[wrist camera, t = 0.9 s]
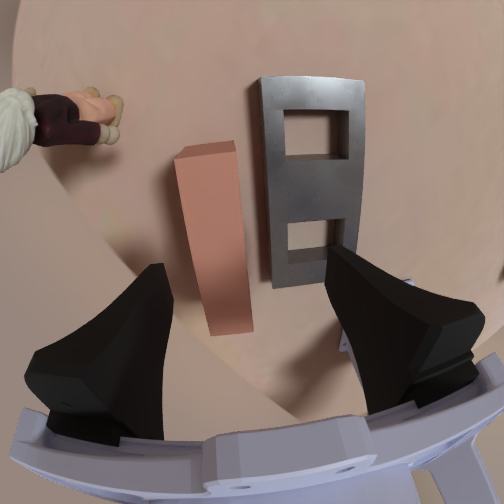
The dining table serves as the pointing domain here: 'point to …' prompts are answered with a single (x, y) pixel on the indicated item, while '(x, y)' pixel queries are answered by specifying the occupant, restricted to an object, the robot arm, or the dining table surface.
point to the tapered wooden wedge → (216, 234)
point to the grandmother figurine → (55, 121)
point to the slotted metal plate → (310, 173)
